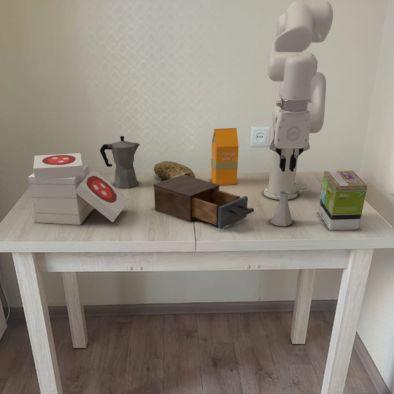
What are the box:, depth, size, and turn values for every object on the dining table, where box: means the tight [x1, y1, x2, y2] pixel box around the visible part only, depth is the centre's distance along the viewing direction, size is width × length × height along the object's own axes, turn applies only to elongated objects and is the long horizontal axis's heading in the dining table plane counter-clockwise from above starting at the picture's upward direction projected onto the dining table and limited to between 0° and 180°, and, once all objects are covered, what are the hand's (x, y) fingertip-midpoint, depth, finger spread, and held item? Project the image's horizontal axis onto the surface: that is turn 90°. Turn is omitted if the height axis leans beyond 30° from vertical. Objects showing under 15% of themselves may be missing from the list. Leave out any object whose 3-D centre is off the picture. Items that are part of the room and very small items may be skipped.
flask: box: [270, 191, 293, 227], centre depth 159 cm, size 7×7×10 cm
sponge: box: [153, 160, 196, 180], centre depth 195 cm, size 13×8×20 cm
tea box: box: [317, 170, 368, 231], centre depth 159 cm, size 15×10×15 cm, turn 3°
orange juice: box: [210, 127, 240, 186], centre depth 190 cm, size 8×9×20 cm
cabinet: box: [153, 175, 220, 223], centre depth 169 cm, size 17×15×9 cm
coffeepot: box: [99, 135, 141, 189], centre depth 187 cm, size 15×9×18 cm, turn 111°
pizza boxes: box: [27, 152, 130, 226], centre depth 161 cm, size 19×30×18 cm, turn 83°
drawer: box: [192, 189, 255, 230], centre depth 160 cm, size 21×14×7 cm, turn 48°
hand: (287, 170), depth 152 cm, fingers closed
